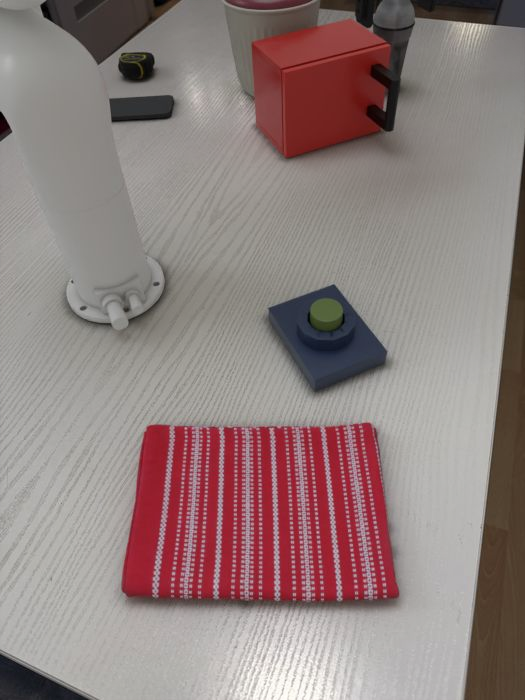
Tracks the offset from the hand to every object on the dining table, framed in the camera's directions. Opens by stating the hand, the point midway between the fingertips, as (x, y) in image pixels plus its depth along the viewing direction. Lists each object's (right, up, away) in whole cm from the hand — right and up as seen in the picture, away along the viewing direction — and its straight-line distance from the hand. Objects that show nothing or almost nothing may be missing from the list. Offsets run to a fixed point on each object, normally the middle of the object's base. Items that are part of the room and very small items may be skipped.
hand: (395, 16), depth 73 cm
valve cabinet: (-9, -6, +22) cm, 24 cm away
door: (-5, -12, +16) cm, 21 cm away
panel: (-11, -44, -9) cm, 46 cm away
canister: (-16, +6, +32) cm, 36 cm away
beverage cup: (+5, +4, +30) cm, 31 cm away
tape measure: (-44, +12, +39) cm, 60 cm away
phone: (-42, 0, +29) cm, 51 cm away
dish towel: (-18, -60, -22) cm, 66 cm away
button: (-11, -42, -12) cm, 45 cm away
